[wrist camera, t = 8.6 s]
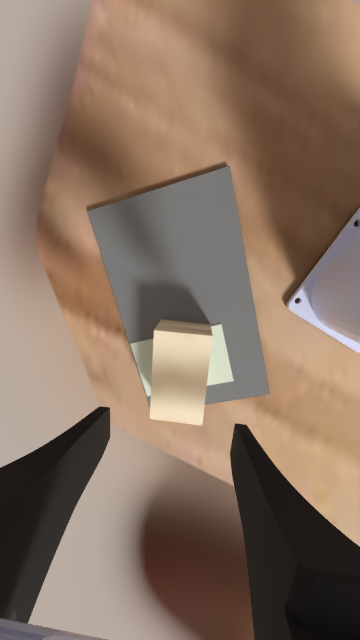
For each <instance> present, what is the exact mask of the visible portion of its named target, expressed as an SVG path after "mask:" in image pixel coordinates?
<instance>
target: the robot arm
mask: <svg viewBox="0 0 360 640" xmlns="http://www.w3.org/2000/svg"><path fill="white" fill-rule="evenodd" d="M355 221H357V222H358V225H357V226H356V227H355V226H354V222H355ZM296 298H299V302H298V303H295V299H296ZM287 308H288V309H289V310H290V311H292V312H293V313H295V314H296V315H298V316H300V317H301V318H303V319H304V320H306V321H308V322H309V323H311V324H312V325H314V326H316V327H317V328H319V329H320V330H322V331H324V332H325V333H327V334H328V335H330V336H332V337H333V338H335V339H336V340H338V341H340V342H341V343H343V344H344V345H346V346H348V347H349V348H351V349H352V350H354V351H356V352H358V353H360V208H359V209H358V210H357V211H356V212H355V214H354V215H353V216H352V218H351V219H350V220H349V222H348V223H347V224H346V226H345V227H344V228H343V230H342V231H341V232H340V234H339V235H338V236H337V238H336V239H335V240H334V242H333V243H332V244H331V246H330V247H329V248H328V249H327V251H326V252H325V253H324V255H323V256H322V257H321V259H320V260H319V261H318V263H317V264H316V265H315V267H314V268H313V269H312V271H311V272H310V273H309V275H308V276H307V277H306V279H305V280H304V281H303V283H302V284H301V285H300V287H299V288H298V289H297V291H296V292H295V293H294V294H293V296H292V297H291V298H290V300H289V301H288V303H287ZM109 439H110V408H108V407H98V408H97V409H96V410H94V411H93V412H92V413H90V414H89V415H88V416H86V417H85V418H84V419H82V420H81V421H79V422H78V423H77V424H75V425H74V426H73V427H71V428H70V429H68V430H67V431H65V432H64V433H62V434H61V435H59V436H58V437H56V438H55V439H53V440H52V441H50V442H49V443H47V444H45V445H44V446H42V447H40V448H38V449H37V450H35V451H33V452H31V453H29V454H28V455H26V456H24V457H22V458H20V459H18V460H16V461H14V462H12V463H9V464H8V465H5V466H3V467H1V468H0V640H106V639H101V638H96V637H91V636H86V635H81V634H76V633H71V632H67V631H61V630H56V629H51V628H47V627H42V626H37V625H32V624H28V621H29V618H30V616H31V613H32V611H33V608H34V605H35V603H36V600H37V597H38V595H39V592H40V590H41V587H42V585H43V582H44V580H45V577H46V575H47V572H48V570H49V567H50V565H51V562H52V560H53V557H54V555H55V553H56V550H57V548H58V545H59V543H60V541H61V538H62V536H63V534H64V531H65V529H66V527H67V524H68V522H69V520H70V518H71V515H72V513H73V511H74V509H75V506H76V504H77V502H78V500H79V498H80V497H81V495H82V493H83V491H84V489H85V487H86V485H87V484H88V482H89V480H90V478H91V476H92V474H93V473H94V471H95V469H96V467H97V465H98V463H99V461H100V459H101V458H102V455H103V453H104V451H105V449H106V446H107V443H108V441H109ZM230 457H231V468H232V476H233V481H234V486H235V492H236V496H237V501H238V506H239V511H240V516H241V521H242V527H243V533H244V541H245V550H246V558H247V567H248V576H249V586H250V595H251V605H252V616H253V626H254V638H255V640H360V547H359V546H358V545H357V544H355V543H354V542H353V541H352V540H350V539H349V538H348V537H347V536H345V535H344V534H343V533H342V532H341V531H340V530H338V529H337V528H336V527H335V526H334V525H332V524H331V523H330V522H329V521H328V520H327V519H326V518H325V517H323V516H322V515H321V514H320V513H319V512H318V511H317V510H316V509H315V508H314V507H313V506H312V505H311V504H310V503H309V502H308V501H307V500H306V499H305V498H304V497H303V496H302V495H301V494H300V493H299V492H298V491H297V490H296V489H295V488H294V487H293V486H292V485H291V484H290V483H289V482H288V480H287V479H286V478H285V477H284V476H283V475H282V473H281V472H280V471H279V470H278V468H277V467H276V466H275V465H274V463H273V462H272V461H271V460H270V458H269V457H268V455H267V454H266V453H265V451H264V450H263V449H262V447H261V446H260V444H259V443H258V441H257V440H256V439H255V437H254V436H253V434H252V433H251V431H250V430H249V428H248V427H247V425H243V424H235V427H234V433H233V439H232V445H231V451H230Z"/></svg>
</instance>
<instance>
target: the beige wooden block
mask: <svg viewBox="0 0 360 640" xmlns="http://www.w3.org/2000/svg"><path fill="white" fill-rule="evenodd" d="M212 338H213V335H212V329H211V324H204V323H194V322H183V321H173V320H162V319H161V321H160V322H159V324H158V325H157V326H156V328H155V329H154V338H153V360H152V381H151V403H150V419H155V420H163V421H171V422H179V423H187V424H194V425H202V422H203V413H204V405H205V397H206V388H207V380H208V371H209V363H210V355H211V346H212Z"/></svg>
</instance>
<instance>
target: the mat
mask: <svg viewBox="0 0 360 640" xmlns="http://www.w3.org/2000/svg"><path fill="white" fill-rule="evenodd" d="M87 212H88V215H89V218H90V221H91V225H92V228H93V231H94V234H95V237H96V240H97V243H98V246H99V250H100V253H101V256H102V259H103V262H104V265H105V268H106V271H107V275H108V278H109V281H110V284H111V287H112V290H113V293H114V296H115V300H116V303H117V306H118V309H119V312H120V315H121V318H122V321H123V325H124V328H125V331H126V334H127V337H128V340H129V343H130V346H131V350H132V353H133V356H134V359H135V362H136V365H137V368H138V371H139V375H140V378H141V381H142V384H143V387H144V390H145V393H146V396H147V400H148V403H149V406H150V403H151V381H152V360H153V338H154V329H155V328H156V326H157V325H158V324H159V322H160V321H161V319H162V320H173V321H183V322H194V323H204V324H211V329H212V335H213V338H212V346H211V355H210V363H209V371H208V380H207V388H206V397H205V405H206V404H213V403H219V402H225V401H231V400H237V399H243V398H249V397H255V396H261V395H268V394H270V392H269V386H268V381H267V375H266V369H265V364H264V358H263V352H262V347H261V341H260V335H259V330H258V324H257V318H256V313H255V307H254V302H253V296H252V290H251V285H250V279H249V273H248V268H247V262H246V256H245V251H244V245H243V239H242V234H241V228H240V223H239V217H238V211H237V206H236V200H235V194H234V189H233V183H232V177H231V172H230V166H228V167H225V168H221V169H218V170H215V171H212V172H209V173H206V174H203V175H199V176H196V177H193V178H190V179H187V180H184V181H181V182H177V183H174V184H171V185H168V186H165V187H162V188H159V189H155V190H152V191H149V192H146V193H143V194H140V195H137V196H134V197H130V198H127V199H124V200H121V201H118V202H115V203H112V204H108V205H105V206H102V207H99V208H96V209H93V210H90V211H87Z"/></svg>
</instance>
